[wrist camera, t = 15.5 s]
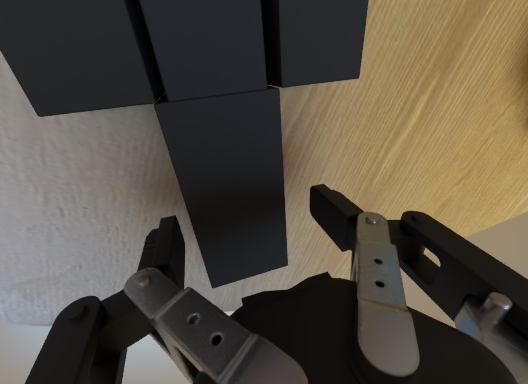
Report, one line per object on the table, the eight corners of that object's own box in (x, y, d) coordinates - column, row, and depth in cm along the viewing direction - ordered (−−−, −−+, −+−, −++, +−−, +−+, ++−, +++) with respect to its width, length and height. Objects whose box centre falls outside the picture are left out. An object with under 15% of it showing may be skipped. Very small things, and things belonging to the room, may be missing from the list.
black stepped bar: (267, 225, 21) (288, 265, 16) (207, 241, 20) (212, 289, 15) (245, 3, 13) (274, -29, 8) (139, 8, 11) (111, -26, 7)
